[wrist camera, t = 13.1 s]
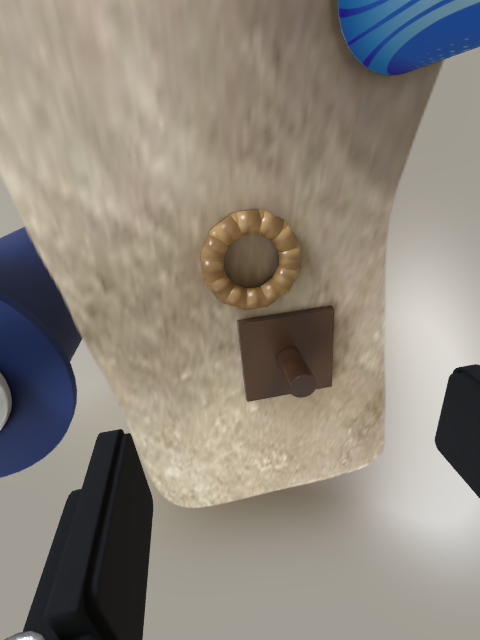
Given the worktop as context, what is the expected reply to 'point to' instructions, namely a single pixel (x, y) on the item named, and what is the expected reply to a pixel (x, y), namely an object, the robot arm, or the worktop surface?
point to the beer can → (408, 31)
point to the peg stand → (287, 353)
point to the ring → (230, 232)
